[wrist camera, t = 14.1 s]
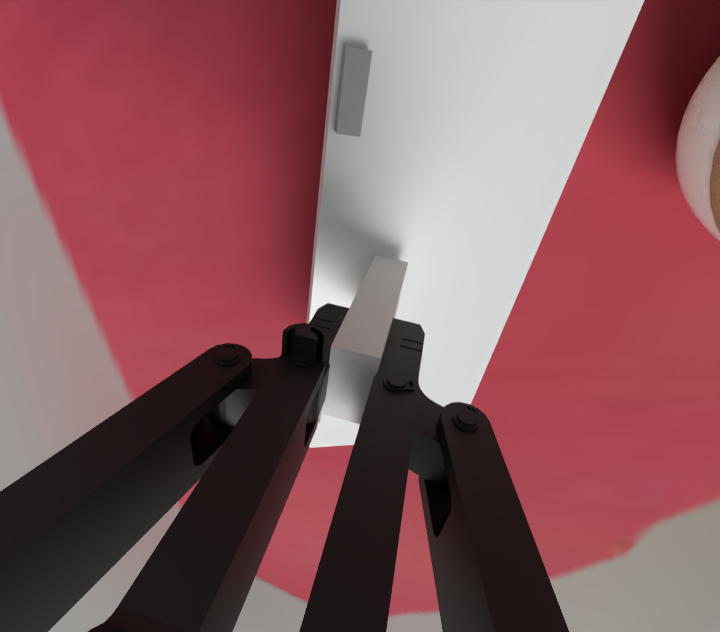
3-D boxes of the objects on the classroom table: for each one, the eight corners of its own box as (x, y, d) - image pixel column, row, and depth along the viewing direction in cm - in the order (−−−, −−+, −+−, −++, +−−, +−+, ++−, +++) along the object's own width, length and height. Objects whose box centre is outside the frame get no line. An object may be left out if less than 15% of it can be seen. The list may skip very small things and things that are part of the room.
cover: (343, -76, 11) (353, -87, 10) (627, -1, 14) (660, -4, 13) (295, 437, 23) (297, 457, 22) (451, 427, 26) (459, 445, 25)
